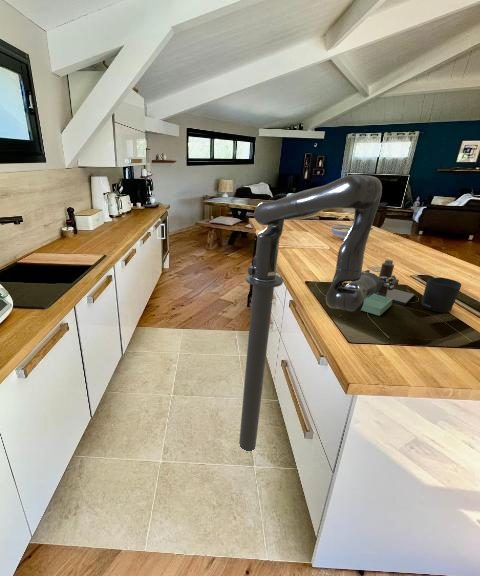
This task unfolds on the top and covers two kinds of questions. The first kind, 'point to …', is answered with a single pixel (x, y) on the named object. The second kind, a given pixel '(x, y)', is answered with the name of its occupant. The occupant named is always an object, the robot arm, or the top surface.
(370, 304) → the tray
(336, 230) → the ramen bowl
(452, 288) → the pen holder
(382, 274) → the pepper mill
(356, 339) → the top surface
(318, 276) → the top surface
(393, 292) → the slate board
